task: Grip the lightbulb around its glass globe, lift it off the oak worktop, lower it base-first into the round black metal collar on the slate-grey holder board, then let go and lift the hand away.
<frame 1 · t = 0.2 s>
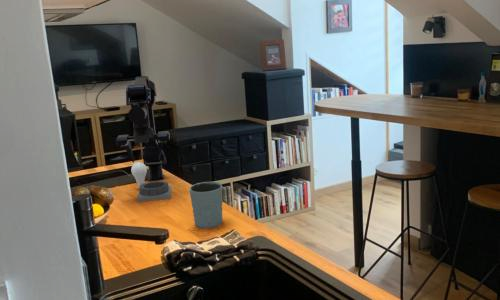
hand: (146, 161, 174), 14 cm above the kitchen counter, fingers open, 9 cm apart
drinking glass: (209, 224, 148), on the kitchen counter
bulb holder: (155, 195, 180), on the kitchen counter
lightbulb: (141, 189, 189), on the kitchen counter
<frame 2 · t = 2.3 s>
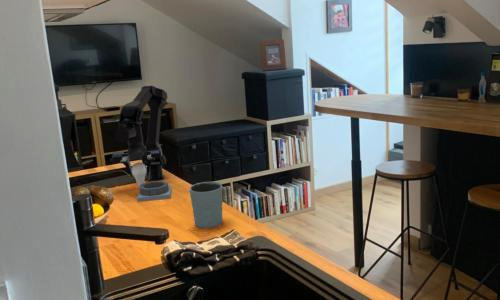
hand: (139, 175, 188), 6 cm above the kitchen counter, fingers closed on lightbulb, 6 cm apart
lightbulb: (141, 189, 189), on the kitchen counter, touching gripper
everything else where it was.
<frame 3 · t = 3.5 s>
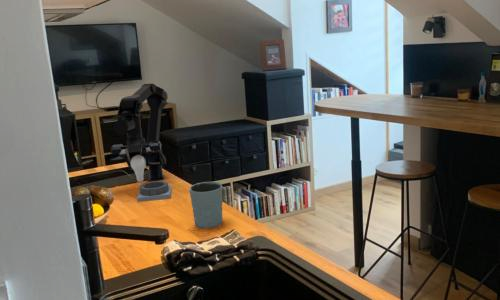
hand: (138, 168, 188), 8 cm above the kitchen counter, fingers closed on lightbulb, 6 cm apart
lightbulb: (140, 182, 189), point 3 cm above the kitchen counter, touching gripper
everything else where it was.
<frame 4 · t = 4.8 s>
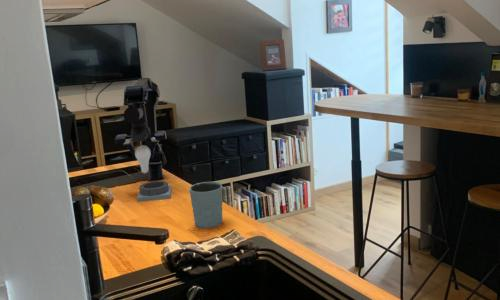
hand: (143, 159, 182), 13 cm above the kitchen counter, fingers closed on lightbulb, 6 cm apart
lightbulb: (145, 173, 183), point 7 cm above the kitchen counter, touching gripper
everything else where it was.
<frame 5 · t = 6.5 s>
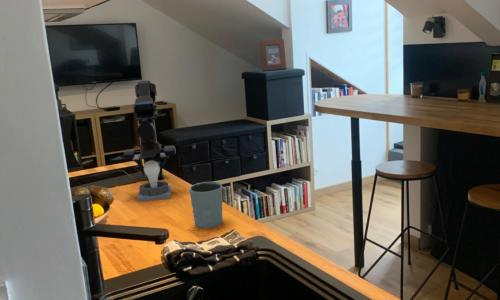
hand: (152, 174, 179), 8 cm above the kitchen counter, fingers closed on lightbulb, 6 cm apart
lightbulb: (154, 189, 180), point 2 cm above the kitchen counter, touching gripper
everything else where it was.
when the fingers open (8 cm above the kitchen counter, at t = 7.6 s): lightbulb stays where it is, resting on bulb holder.
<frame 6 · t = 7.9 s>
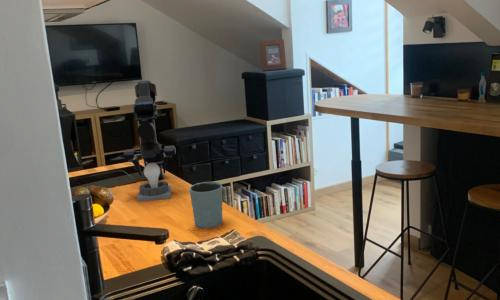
hand: (152, 174, 179), 8 cm above the kitchen counter, fingers open, 8 cm apart
lightbulb: (155, 191, 180), point 1 cm above the kitchen counter, touching bulb holder
everything else where it was.
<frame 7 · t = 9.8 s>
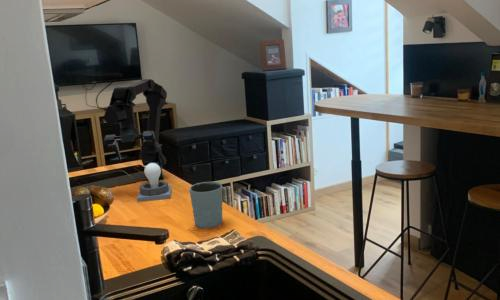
hand: (132, 159, 185), 13 cm above the kitchen counter, fingers open, 9 cm apart
nothing on the kitchen counter moved.
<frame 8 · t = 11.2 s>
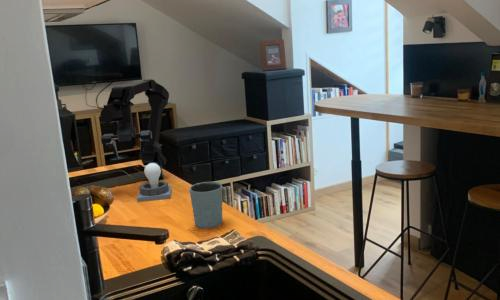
hand: (129, 158, 186), 13 cm above the kitchen counter, fingers open, 9 cm apart
nothing on the kitchen counter moved.
at the end: lightbulb 0.1 cm off-centre on the bulb holder, point 1.3 cm above the bulb holder's base; lightbulb tilted 0°; the gripper is holding nothing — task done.
